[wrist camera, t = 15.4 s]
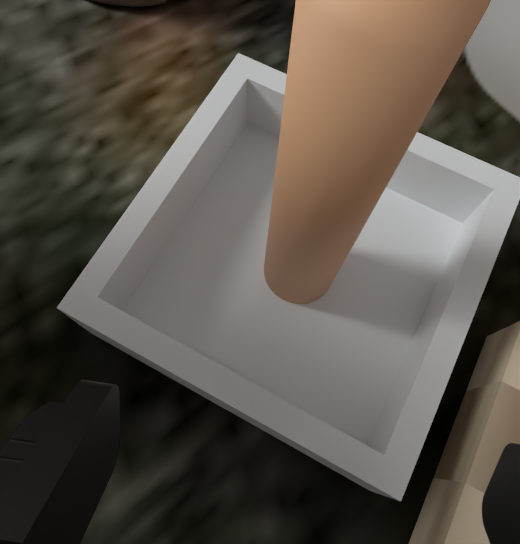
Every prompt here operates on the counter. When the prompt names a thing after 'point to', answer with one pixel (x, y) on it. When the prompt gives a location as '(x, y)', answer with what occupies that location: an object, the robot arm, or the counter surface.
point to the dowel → (351, 123)
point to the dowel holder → (474, 446)
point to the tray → (289, 316)
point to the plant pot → (132, 2)
